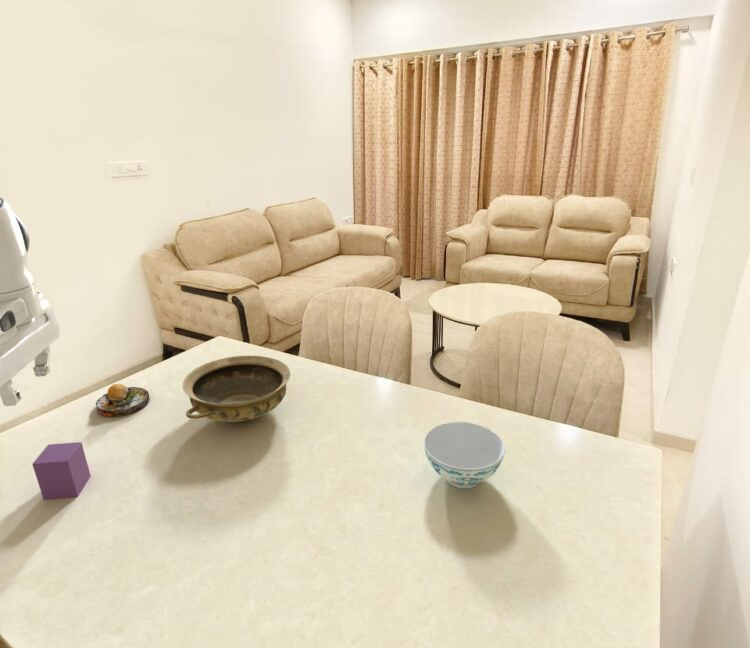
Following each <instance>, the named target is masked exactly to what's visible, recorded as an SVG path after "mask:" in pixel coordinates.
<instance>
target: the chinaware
mask: <svg viewBox="0 0 750 648" xmlns="http://www.w3.org/2000/svg"><path fill="white" fill-rule="evenodd" d="M423 447H424V453H425V454H426V455H425V456H426V458H427V460H428V463H429V464H430V466H431V468H432V469H433V471H434V472H435V473H436V474H437V475H438V476H439V477H440V478H442V479H444V481H446V482H447V484H449V485H450V486H452V487H455V488H458V489H471V488H475V486H477V485H478V484H481V483H483V482H485V481H487V480H488V479H490V478H491V477H492V476H493V475H494V473H496V472H497V470H498V469H499V467H500V466H501V464H502V462H503V460H504V456H505V453H506V446H505V443H504V441H503V439H502V438H501V437H500V435H499V434H497V433H496V432H495V431H494V430H492V429H490V428H488V427H486V426H483V425H482V424H477V423H473V422H466V421H450V422H444V423H441V424H438V425H436V426H434V427H432V428H430V429H429V431H428V432H427V433H426V434H425V436H424V438H423Z"/></svg>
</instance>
